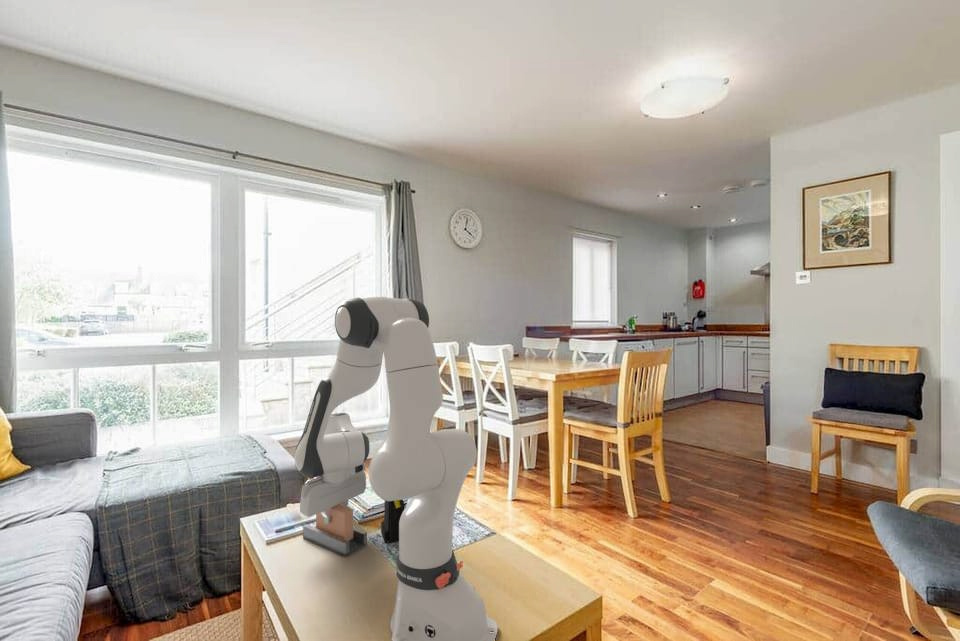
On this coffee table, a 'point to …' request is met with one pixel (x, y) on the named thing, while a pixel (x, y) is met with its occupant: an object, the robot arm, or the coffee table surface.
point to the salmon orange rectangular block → (337, 522)
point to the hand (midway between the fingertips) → (334, 519)
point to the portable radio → (392, 520)
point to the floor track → (336, 540)
